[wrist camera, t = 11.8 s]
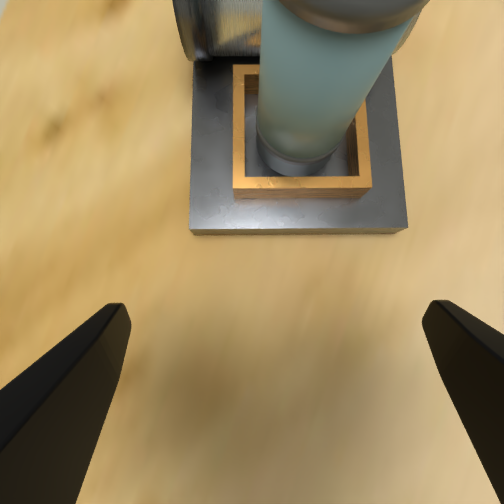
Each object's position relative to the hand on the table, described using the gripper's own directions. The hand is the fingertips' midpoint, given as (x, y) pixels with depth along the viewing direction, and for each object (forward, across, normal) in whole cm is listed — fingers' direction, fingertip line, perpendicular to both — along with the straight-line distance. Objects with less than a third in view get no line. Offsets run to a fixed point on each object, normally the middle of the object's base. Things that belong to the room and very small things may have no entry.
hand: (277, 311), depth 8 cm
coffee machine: (+21, -3, -1) cm, 21 cm away
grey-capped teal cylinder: (+17, -3, 0) cm, 17 cm away
